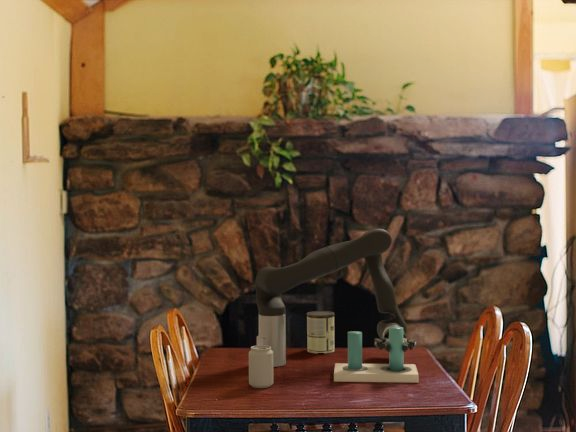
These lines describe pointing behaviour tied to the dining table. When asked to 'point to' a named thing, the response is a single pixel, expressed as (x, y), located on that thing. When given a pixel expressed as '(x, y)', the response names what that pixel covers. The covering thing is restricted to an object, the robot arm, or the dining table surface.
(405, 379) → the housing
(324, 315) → the coffee can
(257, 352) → the can
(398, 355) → the pin
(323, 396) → the dining table surface
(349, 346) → the seated pin
